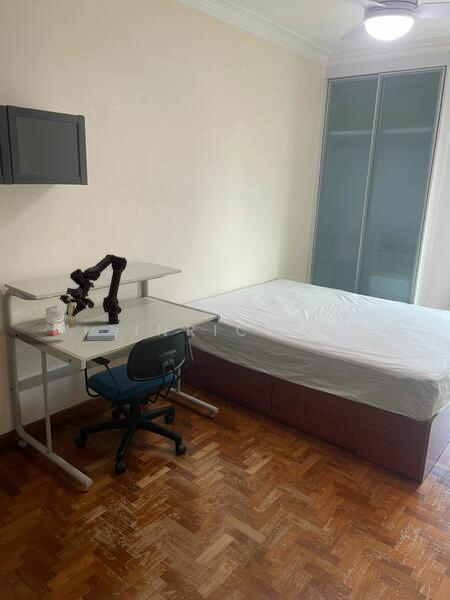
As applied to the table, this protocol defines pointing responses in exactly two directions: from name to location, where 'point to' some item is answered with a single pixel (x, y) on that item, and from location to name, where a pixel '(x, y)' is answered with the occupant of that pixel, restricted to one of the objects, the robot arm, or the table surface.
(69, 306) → the dowel
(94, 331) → the socket board
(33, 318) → the table surface
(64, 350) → the table surface
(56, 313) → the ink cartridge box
